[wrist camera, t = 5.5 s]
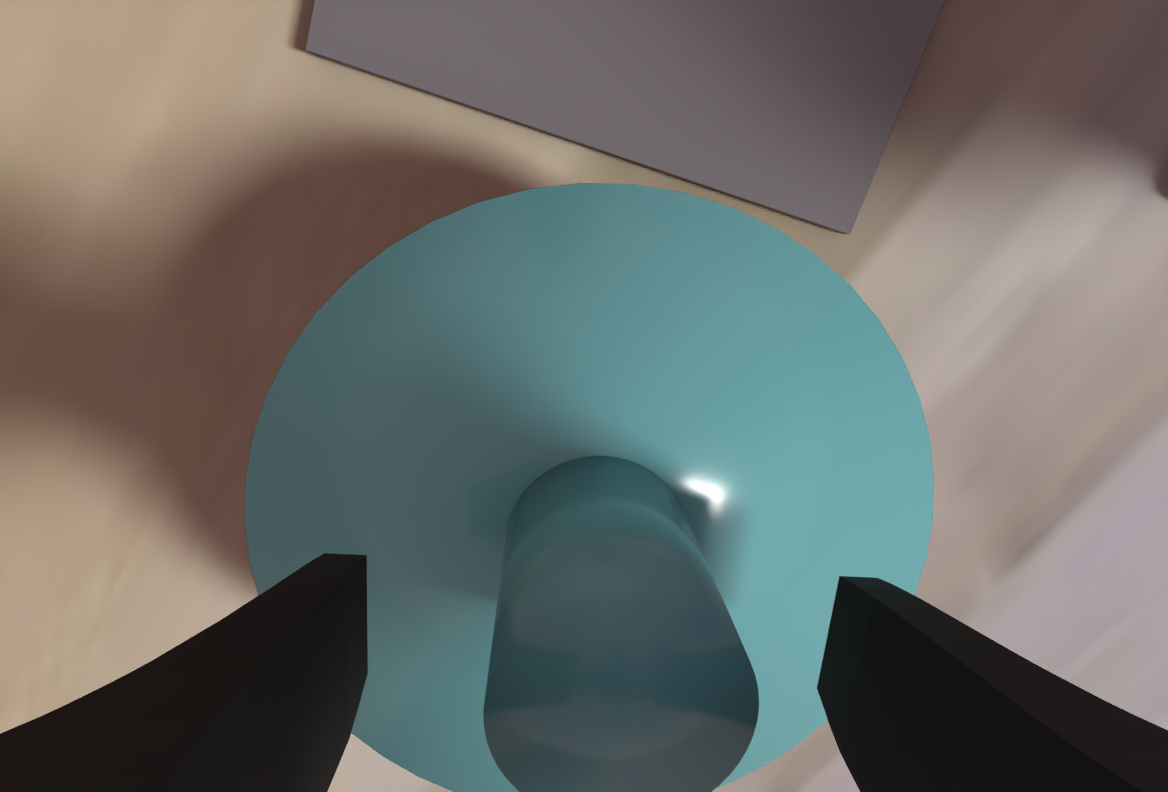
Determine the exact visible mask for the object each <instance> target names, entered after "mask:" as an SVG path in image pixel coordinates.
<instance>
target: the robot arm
mask: <svg viewBox="0 0 1168 792" xmlns="http://www.w3.org/2000/svg"><path fill="white" fill-rule="evenodd" d="M367 674H368V647H367V555H354V554H331V553H324V554H322V555H321V556H319V557H317V558H315V559H314V560H312V561H310V562H309V563H307V564H306V565H304V566H303V567H301V568H300V569H298V570H297V571H295V572H294V573H292V574H291V575H289V576H288V577H286V578H285V579H283V580H282V581H280V582H279V583H277V584H276V585H274V586H273V587H271V588H270V589H268V590H266V591H265V592H263V593H262V594H260V595H259V596H257V597H256V598H254V599H253V600H251V601H250V602H248V603H246V604H245V605H243V606H242V607H240V608H239V609H237V610H236V611H234V612H233V613H231V614H230V615H228V616H227V617H225V618H223V619H222V620H220V621H219V622H217V623H215V624H213V625H212V626H210V627H208V628H207V629H205V630H203V631H202V632H200V633H198V634H197V635H195V636H193V637H191V638H190V639H188V640H186V641H185V642H183V643H181V644H180V645H178V646H176V647H175V648H173V649H171V650H170V651H168V652H166V653H164V654H163V655H161V656H159V657H158V658H156V659H154V660H153V661H151V662H149V663H147V664H145V665H143V666H142V667H140V668H138V669H136V670H134V671H132V672H130V673H129V674H127V675H125V676H123V677H121V678H119V679H117V680H115V681H113V682H111V683H109V684H107V685H105V686H103V687H101V688H99V689H97V690H95V691H93V692H91V693H89V694H87V695H85V696H83V697H81V698H79V699H77V700H75V701H73V702H71V703H69V704H67V705H65V706H63V707H60V708H58V709H56V710H54V711H52V712H50V713H48V714H45V715H43V716H41V717H39V718H36V719H34V720H32V721H29V722H27V723H25V724H22V725H20V726H17V727H15V728H13V729H10V730H8V731H6V732H3V733H1V734H0V792H327V791H328V789H329V786H330V784H331V781H332V779H333V777H334V774H335V772H336V769H337V767H338V765H339V762H340V760H341V757H342V755H343V753H344V750H345V748H346V745H347V743H348V740H349V738H350V734H351V731H352V728H353V724H354V721H355V717H356V714H357V711H358V707H359V704H360V700H361V696H362V693H363V689H364V685H365V682H366V678H367ZM817 690H818V693H819V696H820V699H821V702H822V704H823V707H824V710H825V713H826V716H827V719H828V722H829V724H830V727H831V730H832V732H833V735H834V737H835V740H836V743H837V745H838V748H839V750H840V753H841V755H842V757H843V759H844V761H845V763H846V765H847V767H848V769H849V770H850V772H851V774H852V776H853V778H854V780H855V782H856V784H857V786H858V788H859V790H860V792H1168V730H1165V729H1163V728H1161V727H1159V726H1157V725H1155V724H1152V723H1150V722H1148V721H1146V720H1144V719H1141V718H1139V717H1137V716H1135V715H1133V714H1131V713H1129V712H1127V711H1125V710H1122V709H1120V708H1118V707H1116V706H1114V705H1112V704H1110V703H1108V702H1106V701H1104V700H1102V699H1100V698H1098V697H1096V696H1094V695H1092V694H1091V693H1089V692H1087V691H1085V690H1083V689H1081V688H1079V687H1077V686H1075V685H1073V684H1071V683H1070V682H1068V681H1066V680H1064V679H1062V678H1060V677H1058V676H1056V675H1054V674H1052V673H1050V672H1049V671H1047V670H1045V669H1043V668H1041V667H1039V666H1038V665H1036V664H1034V663H1032V662H1030V661H1029V660H1027V659H1025V658H1023V657H1021V656H1019V655H1018V654H1016V653H1014V652H1012V651H1011V650H1009V649H1007V648H1005V647H1003V646H1002V645H1000V644H998V643H996V642H995V641H993V640H991V639H989V638H988V637H986V636H984V635H982V634H981V633H979V632H977V631H976V630H974V629H972V628H970V627H969V626H967V625H965V624H963V623H962V622H960V621H958V620H956V619H955V618H953V617H951V616H949V615H948V614H946V613H944V612H943V611H941V610H939V609H937V608H936V607H934V606H932V605H930V604H929V603H927V602H925V601H923V600H921V599H920V598H918V597H916V596H914V595H912V594H910V593H909V592H907V591H905V590H903V589H901V588H899V587H897V586H895V585H893V584H891V583H889V582H886V581H884V580H882V579H879V578H872V577H850V576H839V580H838V585H837V590H836V595H835V600H834V605H833V610H832V615H831V620H830V625H829V630H828V635H827V640H826V645H825V650H824V655H823V660H822V665H821V670H820V675H819V680H818V685H817Z"/></svg>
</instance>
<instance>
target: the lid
mask: <svg viewBox="0 0 1168 792" xmlns="http://www.w3.org/2000/svg"><path fill="white" fill-rule="evenodd" d="M933 500H934V472H933V463H932V454H931V445H930V437H929V433H928V429H927V425H926V421H925V418H924V414H923V410H922V406H921V402H920V398H919V395H918V393H917V391H916V388H915V386H914V384H913V381H912V379H911V377H910V374H909V372H908V370H907V367H906V365H905V363H904V360H903V358H902V356H901V354H900V353H899V351H898V350H897V348H896V346H895V345H894V343H893V341H892V340H891V338H890V336H889V335H888V333H887V332H886V330H885V328H884V327H883V325H882V323H881V322H880V320H879V319H878V318H877V316H876V315H875V314H874V313H873V312H872V310H871V309H870V308H869V307H868V306H867V305H866V303H865V302H864V301H863V300H862V299H861V297H860V296H859V295H858V294H857V293H856V291H855V290H854V289H853V288H852V287H851V285H850V284H848V283H847V282H846V281H845V280H844V279H843V278H842V277H841V276H839V275H838V274H837V273H836V272H835V271H834V270H833V269H832V268H830V267H829V266H828V265H827V264H826V263H825V262H824V261H823V260H821V259H820V258H819V257H818V256H817V255H816V254H814V253H813V252H811V251H810V250H808V249H807V248H805V247H804V246H802V245H801V244H799V243H798V242H796V241H795V240H793V239H792V238H790V237H789V236H787V235H786V234H784V233H783V232H781V231H779V230H778V229H776V228H775V227H773V226H770V225H768V224H766V223H764V222H762V221H760V220H758V219H756V218H753V217H751V216H749V215H747V214H745V213H743V212H741V211H738V210H736V209H734V208H732V207H729V206H726V205H723V204H720V203H716V202H713V201H710V200H707V199H703V198H700V197H697V196H694V195H690V194H687V193H684V192H678V191H672V190H666V189H659V188H653V187H647V186H641V185H634V184H598V183H578V184H569V185H561V186H552V187H544V188H535V189H528V190H524V191H520V192H517V193H513V194H509V195H505V196H501V197H497V198H493V199H490V200H486V201H482V202H478V203H476V204H473V205H471V206H469V207H466V208H464V209H461V210H459V211H457V212H454V213H452V214H449V215H447V216H444V217H442V218H440V219H437V220H435V221H432V222H430V223H429V224H427V225H425V226H423V227H422V228H420V229H418V230H417V231H415V232H413V233H412V234H410V235H408V236H406V237H405V238H403V239H401V240H400V241H398V242H396V243H395V244H393V245H391V246H389V247H388V248H386V249H385V250H384V251H383V252H381V253H380V254H379V255H378V256H376V257H375V258H374V259H373V260H371V261H370V262H369V263H367V264H366V265H365V266H364V267H362V268H361V269H360V270H359V271H357V272H356V273H355V274H354V275H352V276H351V277H350V278H349V279H348V280H347V281H346V282H345V283H344V284H343V285H342V286H341V287H340V288H339V289H338V290H337V291H336V292H335V293H334V294H333V295H332V297H331V298H330V299H329V300H328V301H327V302H326V303H325V304H324V305H323V306H322V307H321V308H320V309H319V310H318V311H317V312H316V313H315V315H314V316H313V317H312V319H311V320H310V322H309V323H308V325H307V326H306V327H305V329H304V330H303V332H302V333H301V335H300V336H299V337H298V339H297V340H296V342H295V343H294V345H293V346H292V347H291V349H290V350H289V352H288V353H287V355H286V357H285V359H284V361H283V363H282V365H281V367H280V369H279V371H278V373H277V375H276V377H275V379H274V381H273V383H272V385H271V387H270V389H269V391H268V393H267V395H266V398H265V401H264V404H263V407H262V411H261V414H260V417H259V420H258V423H257V426H256V429H255V432H254V435H253V439H252V445H251V451H250V457H249V463H248V468H247V474H246V480H245V529H246V537H247V545H248V553H249V560H250V566H251V570H252V573H253V577H254V580H255V584H256V588H257V591H258V595H260V594H262V593H263V592H265V591H266V590H268V589H270V588H271V587H273V586H274V585H276V584H277V583H279V582H280V581H282V580H283V579H285V578H286V577H288V576H289V575H291V574H292V573H294V572H295V571H297V570H298V569H300V568H301V567H303V566H304V565H306V564H307V563H309V562H310V561H312V560H314V559H315V558H317V557H319V556H321V555H322V554H324V553H331V554H354V555H367V647H368V674H367V678H366V682H365V685H364V689H363V693H362V696H361V700H360V704H359V707H358V711H357V714H356V717H355V721H354V724H353V728H352V731H351V733H352V734H354V735H355V736H356V737H358V738H359V739H360V740H362V741H363V742H364V743H366V744H367V745H368V746H370V747H371V748H372V749H374V750H375V751H377V752H378V753H379V754H381V755H382V756H383V757H385V758H387V759H388V760H390V761H392V762H394V763H395V764H397V765H399V766H401V767H402V768H404V769H406V770H408V771H409V772H411V773H413V774H415V775H416V776H418V777H420V778H423V779H425V780H427V781H430V782H432V783H434V784H437V785H439V786H442V787H444V788H446V789H449V790H451V791H453V792H712V791H713V790H714V789H715V788H717V787H720V786H723V785H725V784H728V783H730V782H732V781H734V780H736V779H738V778H740V777H742V776H744V775H746V774H748V773H751V772H753V771H755V770H757V769H759V768H761V767H762V766H764V765H766V764H767V763H769V762H770V761H772V760H774V759H775V758H777V757H779V756H780V755H782V754H783V753H785V752H787V751H788V750H790V749H792V748H793V747H794V746H796V745H797V744H798V743H800V742H801V741H802V740H803V739H805V738H806V737H807V736H809V735H810V734H811V733H812V732H814V731H815V730H816V729H818V728H819V727H820V726H821V725H823V724H824V723H825V722H826V721H827V720H828V719H827V716H826V713H825V710H824V707H823V704H822V702H821V699H820V696H819V693H818V690H817V685H818V680H819V675H820V670H821V665H822V660H823V655H824V650H825V645H826V640H827V635H828V630H829V625H830V620H831V615H832V610H833V605H834V600H835V595H836V590H837V585H838V580H839V576H850V577H872V578H879V579H882V580H884V581H886V582H889V583H891V584H893V585H895V586H897V587H899V588H901V589H903V590H905V591H907V592H909V593H910V594H912V595H915V592H916V589H917V586H918V583H919V579H920V576H921V573H922V570H923V567H924V563H925V560H926V556H927V550H928V544H929V539H930V533H931V527H932V521H933Z"/></svg>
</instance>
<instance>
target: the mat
mask: <svg viewBox="0 0 1168 792" xmlns="http://www.w3.org/2000/svg"><path fill="white" fill-rule="evenodd" d="M943 2H944V0H315V2H314V7H313V12H312V18H311V23H310V28H309V33H308V39H307V44H306V49H305V50H307V51H308V52H310V53H312V54H314V55H317V56H320V57H323V58H326V59H329V60H332V61H335V62H338V63H341V64H344V65H347V66H349V67H352V68H355V69H358V70H361V71H364V72H367V73H370V74H373V75H376V76H379V77H382V78H385V79H388V80H391V81H394V82H397V83H400V84H403V85H405V86H408V87H411V88H414V89H417V90H420V91H423V92H426V93H429V94H432V95H435V96H438V97H441V98H444V99H447V100H450V101H453V102H456V103H459V104H462V105H464V106H467V107H470V108H473V109H476V110H479V111H482V112H485V113H488V114H491V115H494V116H497V117H500V118H503V119H506V120H509V121H512V122H515V123H518V124H520V125H523V126H526V127H529V128H532V129H535V130H538V131H541V132H544V133H547V134H550V135H553V136H556V137H559V138H562V139H565V140H568V141H571V142H574V143H576V144H579V145H582V146H585V147H588V148H591V149H594V150H597V151H600V152H603V153H606V154H609V155H612V156H615V157H618V158H621V159H624V160H627V161H630V162H633V163H635V164H638V165H641V166H644V167H647V168H650V169H653V170H656V171H659V172H662V173H665V174H668V175H671V176H674V177H677V178H680V179H683V180H686V181H689V182H691V183H694V184H697V185H700V186H703V187H706V188H709V189H712V190H715V191H718V192H721V193H724V194H727V195H730V196H733V197H736V198H739V199H742V200H745V201H747V202H750V203H753V204H756V205H759V206H762V207H765V208H768V209H771V210H774V211H777V212H780V213H783V214H786V215H789V216H792V217H795V218H798V219H801V220H803V221H806V222H809V223H812V224H815V225H818V226H821V227H824V228H827V229H830V230H833V231H836V232H839V233H842V234H850V233H851V230H852V228H853V225H854V223H855V220H856V218H857V215H858V213H859V210H860V208H861V205H862V203H863V200H864V198H865V195H866V193H867V191H868V188H869V186H870V183H871V181H872V178H873V176H874V173H875V171H876V168H877V166H878V163H879V161H880V158H881V156H882V153H883V151H884V148H885V146H886V144H887V141H888V139H889V136H890V134H891V131H892V129H893V126H894V124H895V121H896V119H897V116H898V114H899V111H900V109H901V106H902V104H903V101H904V99H905V97H906V94H907V92H908V89H909V87H910V84H911V82H912V79H913V77H914V74H915V72H916V69H917V67H918V64H919V62H920V59H921V57H922V54H923V52H924V50H925V47H926V45H927V42H928V40H929V37H930V35H931V32H932V30H933V27H934V25H935V22H936V20H937V17H938V15H939V12H940V10H941V7H942V5H943Z"/></svg>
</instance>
